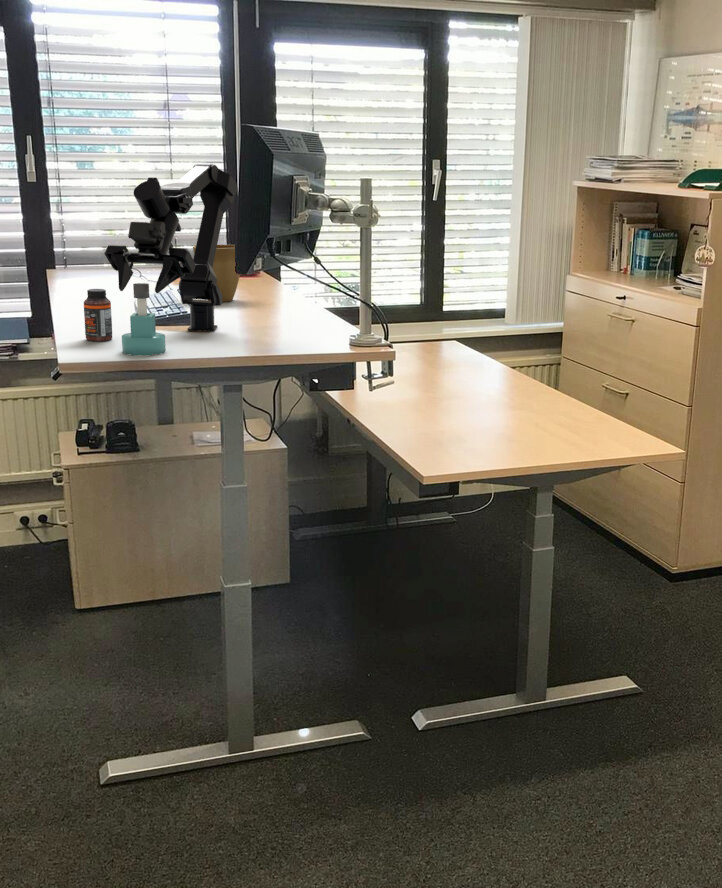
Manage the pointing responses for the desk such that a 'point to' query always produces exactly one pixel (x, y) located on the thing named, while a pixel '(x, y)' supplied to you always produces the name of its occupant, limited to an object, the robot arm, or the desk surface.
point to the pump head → (141, 297)
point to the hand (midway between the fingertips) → (138, 290)
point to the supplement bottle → (97, 316)
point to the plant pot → (225, 271)
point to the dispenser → (143, 336)
